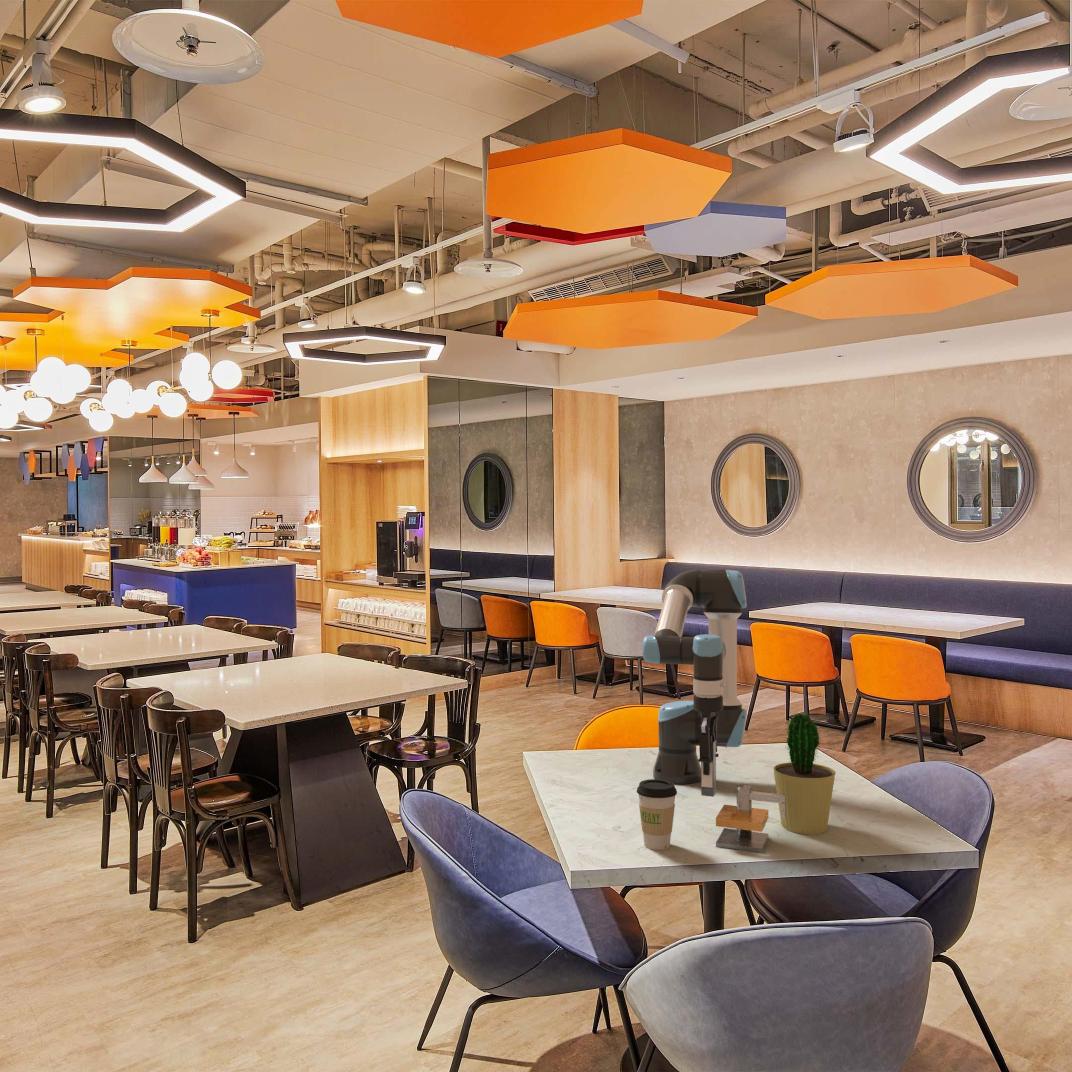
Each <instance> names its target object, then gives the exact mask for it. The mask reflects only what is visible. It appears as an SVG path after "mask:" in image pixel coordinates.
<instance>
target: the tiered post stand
mask: <svg viewBox="0 0 1072 1072" xmlns="http://www.w3.org/2000/svg"><path fill="white" fill-rule="evenodd" d="M752 801H756V802H766V803H774V804H775V803H776V804H778V803H782V818H785V817H786V795H782V794H777V793H772V792H765V791H763V792H762V791H753V790H752V786H751V785H749V784H738V785H736V805H732V804H731V805H730V804H723V806H722V807H721V808H720V811H719V812H718V814H717V815H716V817H715V827H721V828H723V829H722V831H721V832H720V835H719V836H718V838H717V839H716V842H715V847H716V848H725V849H731V850H738V851H745V852H751V853H752V852H754V853H760V854H762V853H763V851H764V850H765V847H766V844H767V842H768V840H769V837H770V836H769V833H767V832H763V830H764V828H765V827H766V824H767V822H768V820H769V809H765V808H758V807H757V808H756V807H752Z"/></svg>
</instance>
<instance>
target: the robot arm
mask: <svg viewBox="0 0 1072 1072" xmlns="http://www.w3.org/2000/svg"><path fill="white" fill-rule="evenodd" d="M661 603H662V607H661V611H660V614H659V617H658V621H657V623H656V624H657V625H656V628H655V631H654V634H653V635H646V636H644V638H643V640H642V657H643V660H644V662H645V663H649V664H656V665H659V664H662V665H665V664H666V665H685V666H686V665H688V666H689V665H691V666H693V679H692V680H693V681H692V683H693V684H692V688H693V689H692V690H693V691H692V693H693V694H694V695H693V700H679V701H672V702H671V701H670V702H667V703H665V704H662V705H660V706H659V708H658V719H657V722H658V752H657V756H656V759H655V762H654V766H653V768H652V777H653V779H661V780H667V781H670V782H672V783H674V785H675V784H676V785H677V784H679V785H680V784H681V785H682V784H683V785H686V784H695V783H698V782H701V762H702V787H711V788H712V787H713V762H712V760H711V757H712V740H716V758H719V753H717V752H718V747H722V748H726V749H727V748H739V747H741V746H742V744H743V741H744V736H745V730H746V721H747V713H748V711H747V709H746V708H743V702H742V701H741V700H740V699H739V698H738V678H737V677H738V647H737V646H738V639H737V638H738V619H739V618H740V616H741V615H742V614H743V609H745V608H747V606H748V605H747V594H746V587H745V581H744V575H743V573H742V572H740V571H739V570H734V569H733V570H731V569H691V570H686V571H683V572H681V573H679V574H678V575H676V576H674V577H673V578H671V580H670V581H668V583H667V584H666V585H665V587H664V588H663V591H662V594H661ZM691 608H703V615H705V616H706V617H707V618H708V634H707V633H706V634H705V633H704V634H698V635H695V636H683V633H684V628H685V623H686V619H687V614H688V611H689V610H690V609H691ZM697 746H698V747H699V756H698V754H697Z"/></svg>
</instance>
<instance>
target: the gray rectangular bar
mask: <svg viewBox="0 0 1072 1072" xmlns="http://www.w3.org/2000/svg"><path fill="white" fill-rule="evenodd" d="M716 754H717V753H716V740H712V757H711V760H712V762H713V787H712V788H711V787H702V762H700V766H701V780H700V782H701V783H700V784H701V785H700V789H701V790H700V793H701V794H700V795H701V796H703V797H704V796H705V797H713V798H714V797H715V796H716V794H717V757H716Z"/></svg>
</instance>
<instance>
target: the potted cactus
mask: <svg viewBox="0 0 1072 1072" xmlns="http://www.w3.org/2000/svg"><path fill="white" fill-rule="evenodd" d="M786 724H787V727H786V728H785V730H787V732H786V733H787V737H785V739H786V745H785V749H786V750H787V757H788V756H789V760H790V761H789V762H783V763H782V762H781V763H778V764H776V765H774V766H773V774H774V775H773V776H774V781H775V788H776V794H782V795H786V817H785V818H782V803H777V804H778V809H779V816H780V824H781V827H782V828H783V829H785V830H787V831H788V832H792V833H795V834H800V835H801V834H802V835H819V834H823V833H825V832H826V831H827V830H828V825H829V820H830V819H829V818H830V811H831V803H832V798H833V791H834V784H835V776H836V771H835V770H834V769H833V768H831V767H829V766H826V765H822V764H817V763H814V762H817V760H816V758H819V756H818V755H817V752H818V749H819V748H821V747H820V745H821V742H822V737H821V734H820V732H819V730H818V726H817V725H816V724H817V723H815V719H814V717H813V716H810V715H809V714H808V713H807V712H804V713H802V712H799V713H798V711H797V712H795V714H794V715H792V717H789V721H788V720H787V722H786Z"/></svg>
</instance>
